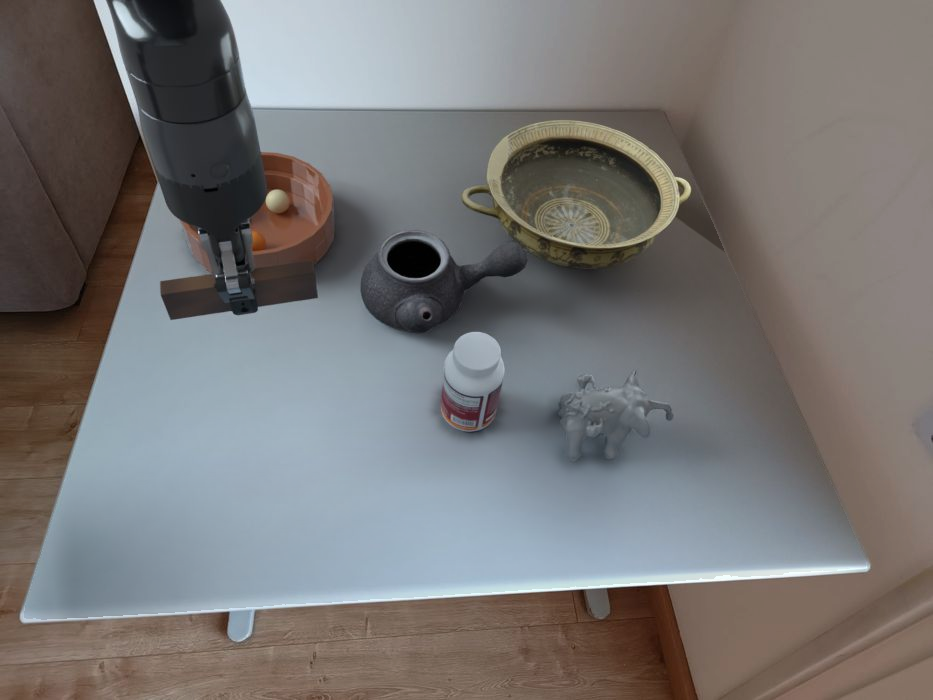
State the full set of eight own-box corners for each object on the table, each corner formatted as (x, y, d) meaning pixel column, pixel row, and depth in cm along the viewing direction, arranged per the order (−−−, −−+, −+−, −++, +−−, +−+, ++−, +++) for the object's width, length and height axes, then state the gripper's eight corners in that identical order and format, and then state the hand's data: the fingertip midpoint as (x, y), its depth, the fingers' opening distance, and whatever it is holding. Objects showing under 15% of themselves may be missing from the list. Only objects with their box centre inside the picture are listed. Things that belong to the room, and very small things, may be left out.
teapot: (368, 363, 81) (366, 307, 73) (356, 263, 89) (353, 203, 81) (529, 349, 84) (544, 293, 76) (502, 254, 93) (513, 195, 85)
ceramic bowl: (647, 174, 105) (668, 116, 97) (701, 297, 91) (731, 242, 83) (445, 179, 100) (450, 119, 92) (470, 310, 87) (478, 253, 79)
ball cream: (269, 219, 92) (265, 202, 89) (265, 203, 93) (262, 186, 91) (292, 216, 92) (290, 198, 90) (289, 200, 94) (286, 183, 92)
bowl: (193, 297, 84) (183, 265, 80) (183, 194, 94) (173, 160, 90) (347, 273, 88) (345, 241, 84) (321, 177, 98) (318, 144, 94)
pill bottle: (480, 378, 81) (492, 318, 72) (505, 422, 78) (520, 364, 69) (430, 396, 79) (436, 335, 70) (453, 441, 76) (462, 384, 67)
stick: (170, 320, 63) (160, 294, 60) (169, 306, 64) (159, 280, 61) (318, 298, 66) (314, 272, 63) (315, 285, 67) (312, 259, 64)
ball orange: (243, 262, 87) (239, 244, 85) (240, 245, 89) (236, 227, 86) (268, 258, 88) (265, 241, 85) (265, 241, 89) (262, 224, 87)
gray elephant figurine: (538, 409, 79) (551, 370, 73) (631, 381, 83) (651, 342, 76) (575, 481, 74) (593, 446, 68) (672, 449, 78) (697, 412, 72)
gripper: (147, 95, 54) (197, 254, 68) (152, 219, 46) (207, 370, 60) (249, 86, 56) (277, 243, 70) (269, 205, 48) (296, 355, 62)
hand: (244, 301), depth 65 cm, fingers closed on stick, 1 cm apart
